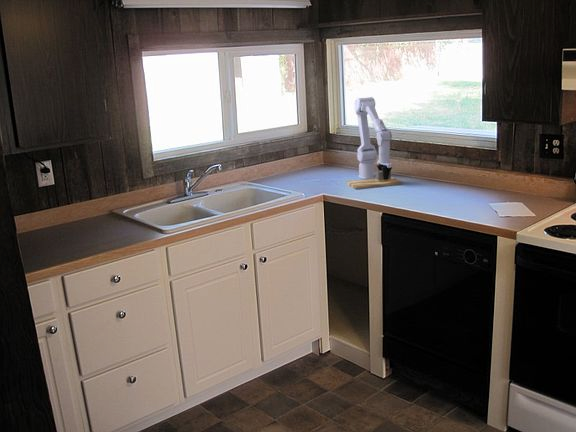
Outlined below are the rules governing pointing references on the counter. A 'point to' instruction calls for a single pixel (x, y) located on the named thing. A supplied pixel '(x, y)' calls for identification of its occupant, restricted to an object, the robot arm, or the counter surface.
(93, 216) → the counter surface
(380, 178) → the block
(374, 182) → the board
